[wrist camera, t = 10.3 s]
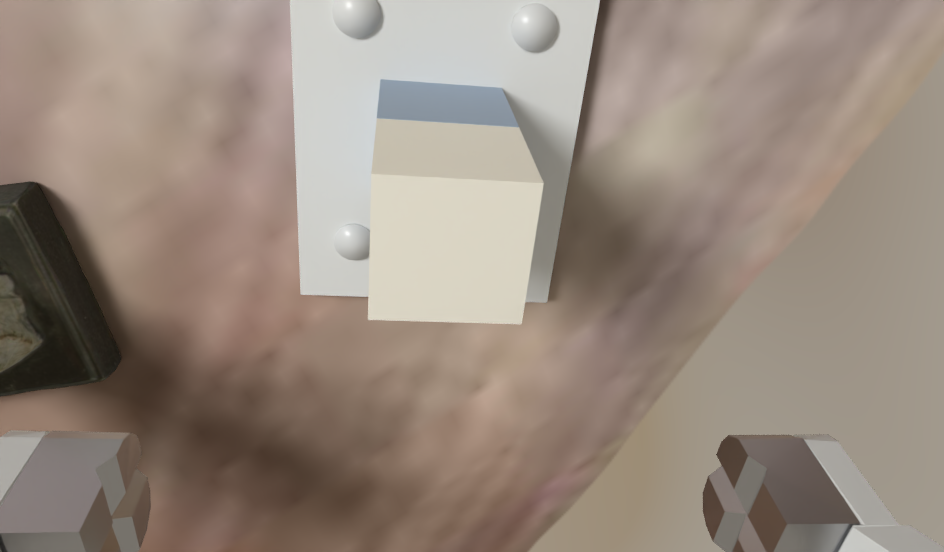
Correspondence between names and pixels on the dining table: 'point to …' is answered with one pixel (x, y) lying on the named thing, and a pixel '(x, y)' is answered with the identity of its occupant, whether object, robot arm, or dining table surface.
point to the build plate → (433, 61)
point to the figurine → (45, 302)
